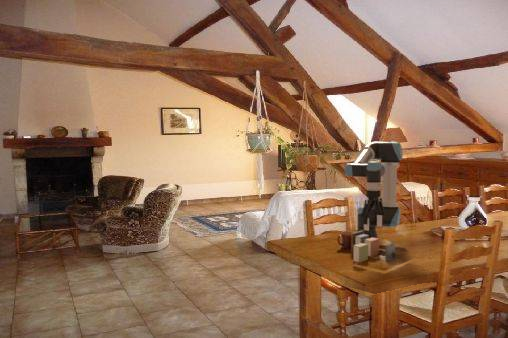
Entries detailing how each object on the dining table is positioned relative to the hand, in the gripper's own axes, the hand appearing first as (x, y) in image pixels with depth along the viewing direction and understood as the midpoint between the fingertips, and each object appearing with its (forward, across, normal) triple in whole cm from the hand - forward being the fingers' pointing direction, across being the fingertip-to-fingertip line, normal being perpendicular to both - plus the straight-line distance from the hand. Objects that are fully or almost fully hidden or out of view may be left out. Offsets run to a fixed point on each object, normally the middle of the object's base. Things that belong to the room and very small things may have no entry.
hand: (373, 228), depth 252 cm
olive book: (+19, -6, +4) cm, 20 cm away
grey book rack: (+18, +7, +3) cm, 20 cm away
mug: (+18, +10, +24) cm, 32 cm away
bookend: (+17, +7, -8) cm, 20 cm away
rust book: (+17, +7, +5) cm, 19 cm away
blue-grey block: (+17, +7, +11) cm, 21 cm away
